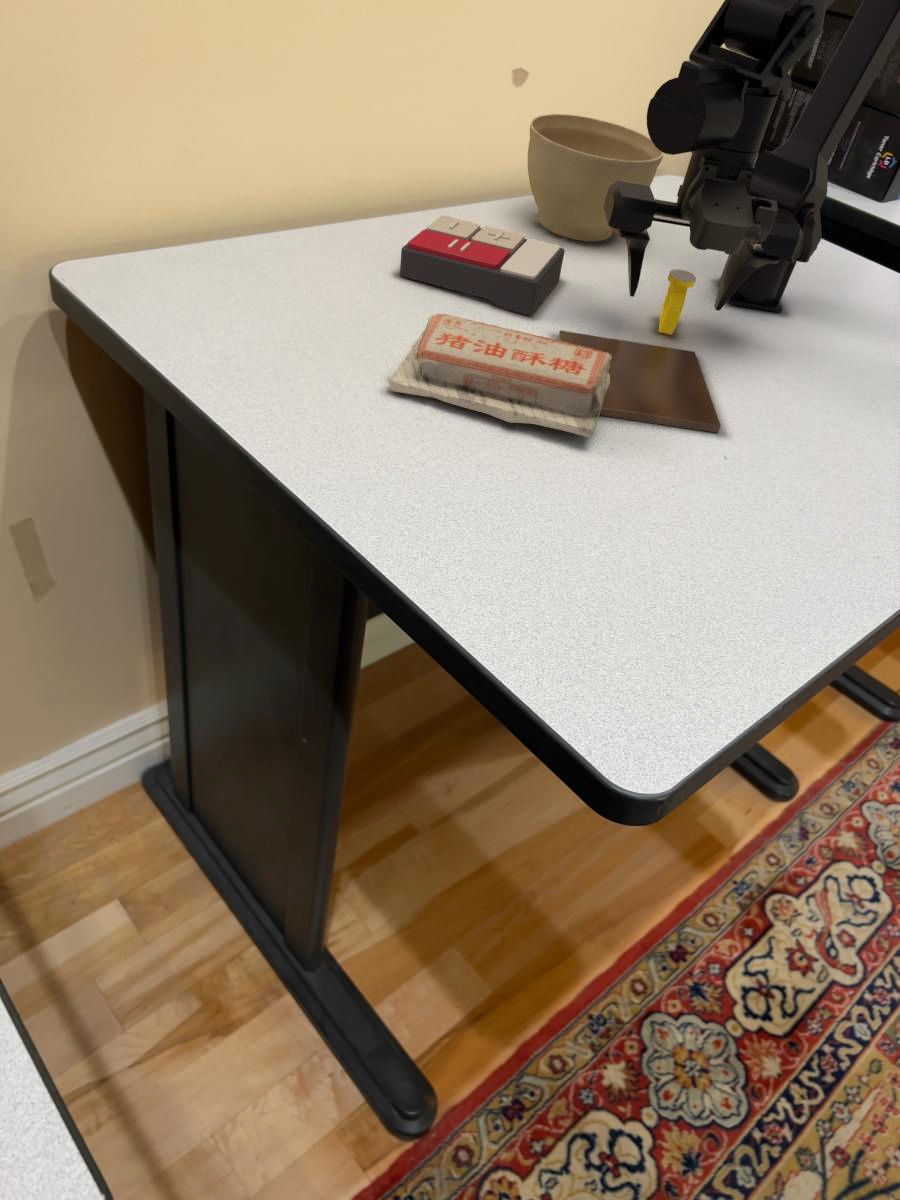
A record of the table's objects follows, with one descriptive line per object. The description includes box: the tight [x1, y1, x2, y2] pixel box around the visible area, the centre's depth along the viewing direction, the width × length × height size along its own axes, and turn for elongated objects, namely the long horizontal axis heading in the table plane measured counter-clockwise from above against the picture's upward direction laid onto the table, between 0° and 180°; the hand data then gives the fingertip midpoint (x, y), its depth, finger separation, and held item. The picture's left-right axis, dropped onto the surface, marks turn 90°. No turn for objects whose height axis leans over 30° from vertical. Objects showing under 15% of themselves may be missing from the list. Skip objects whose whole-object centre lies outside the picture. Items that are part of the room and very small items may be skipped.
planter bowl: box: [527, 113, 665, 243], centre depth 109 cm, size 16×16×11 cm
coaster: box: [557, 330, 722, 434], centre depth 84 cm, size 14×14×1 cm
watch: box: [658, 268, 697, 336], centre depth 93 cm, size 6×3×6 cm, turn 169°
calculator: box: [399, 215, 566, 316], centre depth 95 cm, size 11×4×15 cm
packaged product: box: [389, 313, 612, 439], centre depth 77 cm, size 18×5×10 cm
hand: (674, 302), depth 93 cm, fingers open, 9 cm apart
